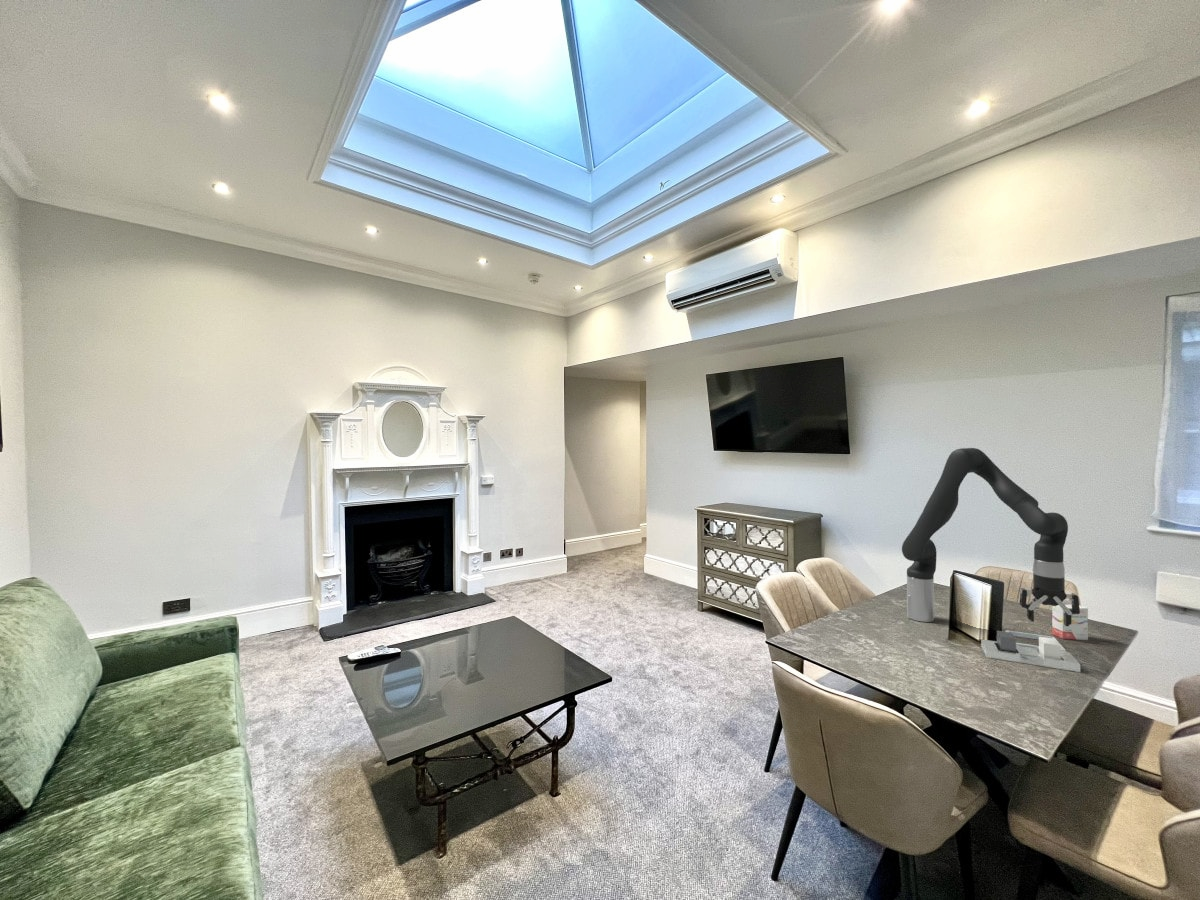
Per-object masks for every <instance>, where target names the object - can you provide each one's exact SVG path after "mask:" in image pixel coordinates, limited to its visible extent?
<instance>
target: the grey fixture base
mask: <svg viewBox="0 0 1200 900" xmlns="http://www.w3.org/2000/svg"><path fill="white" fill-rule="evenodd" d="M1016 643H1017V638H1016V636H1014V635H1013V634H1012V633H1011V632H1005V630H1004V631H1002V630H996V640H989V639H981V641H980V644H981V645H980V646H981V649H982V650H984V651H983V653H984V654H985V657H986V658H990V659H996V660H1003V661H1008V662H1012V663H1013V662H1014V663H1020V664H1027V665H1033V666H1039V667H1046V668H1051V669H1058V670H1065V671H1069V672H1070V671H1071V672H1075V673H1076V672H1077V673H1081V664H1080V662H1079V661H1078V660H1077V659H1076V658H1075V657H1074V656H1073V654H1072V653H1071V652H1069V651H1066V652H1064V651H1061V660H1058V659H1052V658H1045V657H1042V656H1041V655H1040V654H1039V648H1037V647H1030V646H1023V645H1016Z"/></svg>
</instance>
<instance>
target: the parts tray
mask: <svg viewBox="0 0 1200 900" xmlns="http://www.w3.org/2000/svg"><path fill="white" fill-rule="evenodd" d="M1004 632H1011V633H1012V634H1013V635H1014V637H1019V638H1026V639H1033V640H1039V637H1046V638H1053V639H1055V640H1056V641H1057V642H1058V643H1059V644H1060V645H1061V651H1064V652H1067V649H1065V647H1063V644H1061V643H1060V642H1059V641H1058V640H1057V639H1056V638H1055V636H1053V635H1052V636H1051V635H1043V634H1036V633H1029V632H1021V631H1016V630H1015V631H1013V630H1007V629H1006V630H1004ZM1016 645H1023V646H1030V647H1037V648H1039V645H1036V644H1035V645H1034V644H1028V643H1020V642H1016Z"/></svg>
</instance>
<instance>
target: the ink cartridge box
mask: <svg viewBox="0 0 1200 900" xmlns="http://www.w3.org/2000/svg"><path fill="white" fill-rule="evenodd" d="M1063 603H1064V605H1065V606H1066V607H1067V608H1068V609H1072V603H1071V601H1070V600H1069V598H1066V599H1065V600H1064V601H1063ZM1051 607H1052V609H1051V611H1052V615H1051V616H1052V618H1051V619H1052V623H1051V624H1052V626H1051V627H1052V628H1051V629H1052V631H1051V632H1052V636H1053V635H1054V636H1055V637H1058V638H1060V639H1063V640H1079V641H1080V640H1083V641H1085V640H1086V641H1088V640H1089V632H1088V631H1089V628H1088V627H1089V608H1088V607H1086V606H1083V605H1080V604H1079V608H1080V613H1079V614H1073V615H1072V616H1071V625H1069V626H1065V625H1064V613H1065V611H1064V610H1063V609H1062V608H1061V607H1060V606H1059V605H1057V606H1052V605H1051Z"/></svg>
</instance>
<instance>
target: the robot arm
mask: <svg viewBox="0 0 1200 900" xmlns="http://www.w3.org/2000/svg"><path fill="white" fill-rule="evenodd" d="M969 473H971V474H972V473H974V474H976V475H977V476H979V477H980V478H982V479H983V480H984V481H985V482H987V484H988V485H989V486H990V487H991V489H992V491H993V492H994V493H995V495H996V496H997V498H998V499H1000V501H1001V502H1003V504H1005V505H1006V506H1007V507H1008V508H1010V509H1011V510H1012V511H1014V513H1016V514H1017V515H1018V517H1019V518H1020V519H1021V521H1022V522H1023V523H1024V524H1025V525H1026V527H1027V528H1029V529H1030V530H1031V531H1033V532H1035V534H1038V535H1039V540H1037V542H1035V543H1034V547H1033V565H1032V573H1033V574H1032V575H1033V576H1032V577H1033V578H1032V585H1033V586H1032V588H1031V589H1025V587H1021V588H1020V591H1019V592H1020V593H1019V605H1020V606H1021V607H1022V608H1024V609H1026V618H1027V619H1028V620H1029V621H1030V622H1034V621H1035V610H1034V609H1035V608H1037V607H1038V606H1040V605H1041V604H1042V605H1044V606H1051V607H1052V606H1057V605H1059V606H1060V607H1061V608H1062V609H1063V610H1064V611H1065V613H1064V625H1065V626H1069V625H1071V616H1072V615H1073V614H1079V613H1080V608H1079V605H1080V598H1079V596H1078V595H1077V594H1076V593H1066V591H1065V589H1066V588H1065V587H1066V586H1065V585H1066V584H1065V582H1066V579H1065V573H1066V572H1065V565H1064V546H1065V544H1066V540H1067V536H1068V532H1069V526H1068V525H1069V524H1068V521H1067V519H1066V517H1064V515H1062V514H1060V513H1058V512H1044V511H1043V510H1042V509H1041V508H1040V507H1039V502H1038V499H1036V498H1035V497H1033V496H1032V495H1031V494H1030V493H1028V492H1027V491H1025V490H1024V489H1023V488H1022V487H1021V486H1019V485H1018V483H1017V484H1016V482H1014V481H1013V480H1012V479H1011V478H1010V477H1008V476H1007V475H1006V474H1005V473H1004V472H1003V471H1002V470H1001V469H1000V468H999V466H997V465H996V463H995V462H994V461H992V459H990V457H989V456H988V455H987V454H986V453H985V452H984V451H982V450H981V449H979V448H975V447H964V448H957V449H955V450H953V451H952V452H950V454H949V456H948V457H947V459H946V462H945V464H944V467H943V470H942V473H941V476H940V477H939V480H938V482H937V483H936V485H935V487H934V490H933V491H932V493H931V495H930V497H929V498H928V499H927V502H926V504H925V506H924V507H923V510H922V512H921V514H920V515H919V517H918V519H917V521H916V523H915V525H914V526H913V528H912V530H910V532H909V533H908V535H907V537H906V538H905V539H904V541H903V542H902V546H901V553H902V555H903V557H904V558H905V560H908V561H911V562H912V564H911V565H910V566H909V567H908V568H907V569H906V615H907V619H910V620H913V621H918V622H924V623H925V622H926V623H928V622H929V623H930V622H932V623H933V622H934V621H935V587H934V586H935V585H934V584H935V583H934V580H935V579H934V575H935V573H936V570H937V546H936V545H935V543H934V542H933V540H932V539H931V538H932V536H933V535H934V534H935V533H937V532H938V531H939V530H941V529H942V527H944V526H945V525H947V523H948V522H949V521H950V520H951V518H952V516H953V515H954V513H955V512H956V509H957V508H958V505H959V491H960V486H961V484H962V483H963V481H964V479H965V477H966V476H967V474H969ZM1031 595H1032V596H1033V597H1034V598H1033V599H1031V601H1030V602H1029V603H1027V598H1028V597H1029V596H1031ZM1066 598H1069V599H1068V600H1070V601H1071V603H1072V609H1068V608H1067V607H1066V606H1065V605H1064V603H1063V601H1064V600H1067V599H1066Z"/></svg>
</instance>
